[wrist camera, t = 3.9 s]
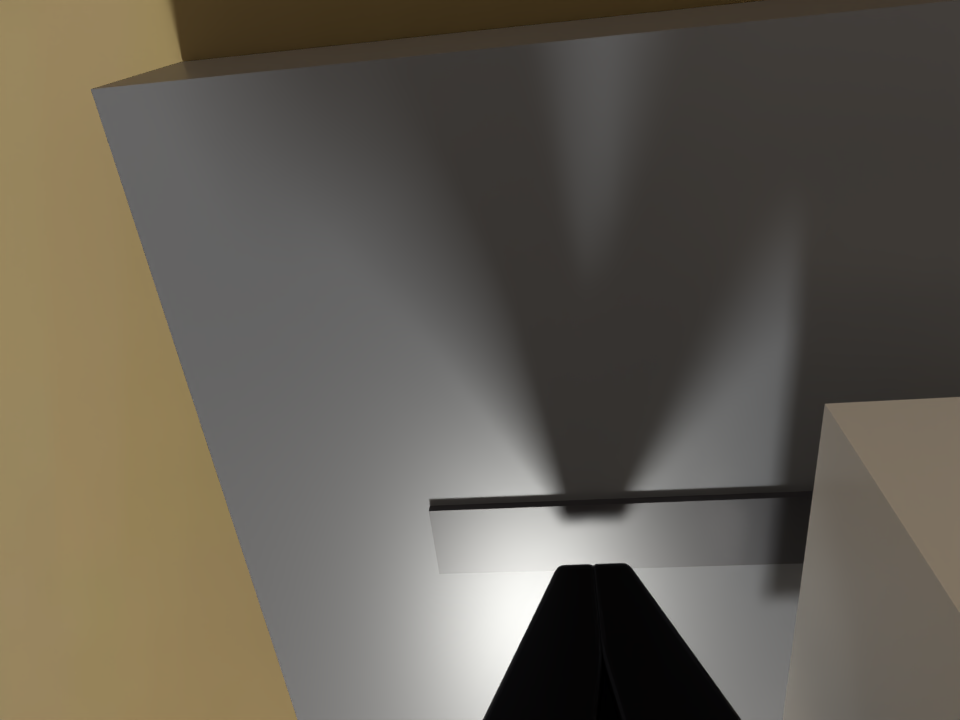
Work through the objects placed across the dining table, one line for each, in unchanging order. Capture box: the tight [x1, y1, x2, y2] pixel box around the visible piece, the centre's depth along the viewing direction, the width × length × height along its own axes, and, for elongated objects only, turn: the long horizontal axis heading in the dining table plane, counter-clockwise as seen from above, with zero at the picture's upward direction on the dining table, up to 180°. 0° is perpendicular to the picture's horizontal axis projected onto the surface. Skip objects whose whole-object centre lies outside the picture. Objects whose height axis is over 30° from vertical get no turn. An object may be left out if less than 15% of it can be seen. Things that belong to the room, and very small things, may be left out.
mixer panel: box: [91, 0, 960, 720], centre depth 9 cm, size 18×11×2 cm, turn 96°
